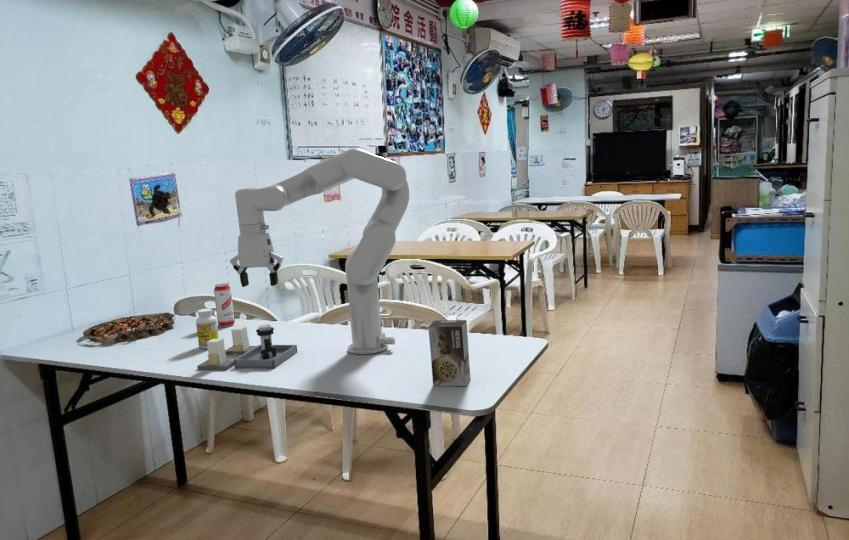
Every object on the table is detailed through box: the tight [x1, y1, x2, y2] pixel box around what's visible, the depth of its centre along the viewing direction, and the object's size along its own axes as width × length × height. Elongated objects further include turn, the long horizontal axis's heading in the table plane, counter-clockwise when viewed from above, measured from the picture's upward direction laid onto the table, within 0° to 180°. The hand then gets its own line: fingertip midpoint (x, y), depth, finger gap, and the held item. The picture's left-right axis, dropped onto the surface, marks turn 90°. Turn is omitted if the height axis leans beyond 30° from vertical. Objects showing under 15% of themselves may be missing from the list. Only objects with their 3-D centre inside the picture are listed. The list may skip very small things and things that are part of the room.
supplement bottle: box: [195, 307, 220, 350], centre depth 222 cm, size 7×7×13 cm
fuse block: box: [196, 326, 258, 371], centre depth 205 cm, size 10×21×8 cm, turn 166°
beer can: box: [213, 283, 236, 328], centre depth 251 cm, size 6×6×16 cm
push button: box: [255, 324, 276, 359], centre depth 202 cm, size 7×5×10 cm
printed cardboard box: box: [427, 319, 471, 387], centre depth 169 cm, size 9×6×16 cm
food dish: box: [82, 312, 176, 346], centre depth 252 cm, size 35×33×8 cm
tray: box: [234, 344, 298, 370], centre depth 202 cm, size 13×16×2 cm
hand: (259, 285), depth 198 cm, fingers open, 9 cm apart
